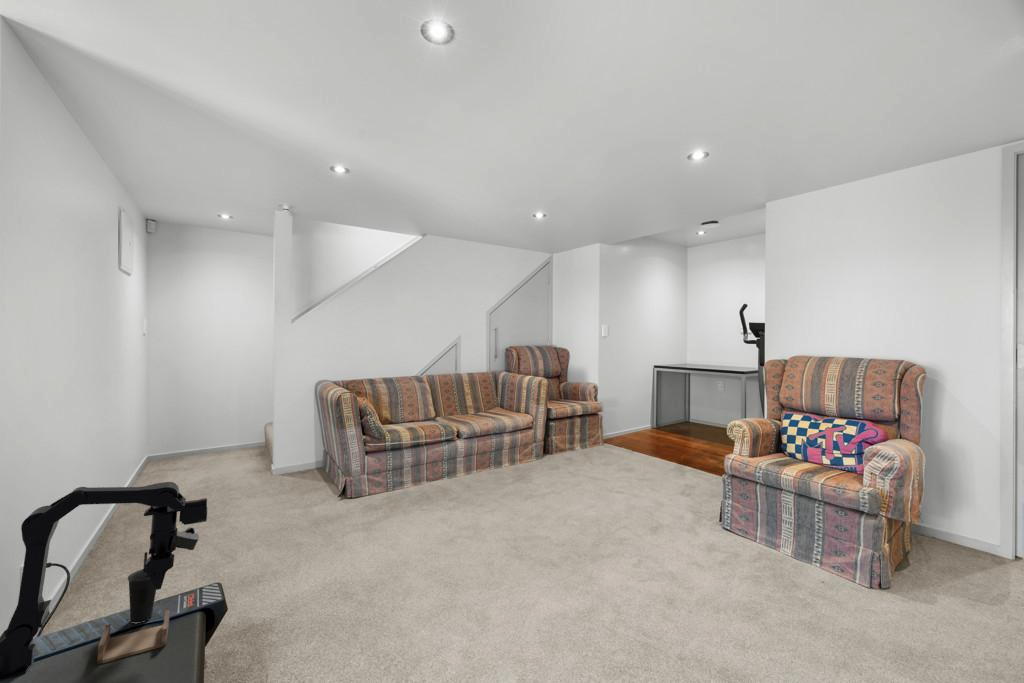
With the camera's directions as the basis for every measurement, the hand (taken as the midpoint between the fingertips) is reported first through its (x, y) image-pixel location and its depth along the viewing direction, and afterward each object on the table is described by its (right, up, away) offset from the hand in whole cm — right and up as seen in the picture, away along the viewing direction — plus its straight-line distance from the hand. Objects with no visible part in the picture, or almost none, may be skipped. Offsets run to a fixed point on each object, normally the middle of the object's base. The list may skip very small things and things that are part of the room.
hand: (160, 581), depth 125 cm
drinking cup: (-10, -15, +5) cm, 18 cm away
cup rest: (-3, -14, -5) cm, 16 cm away
